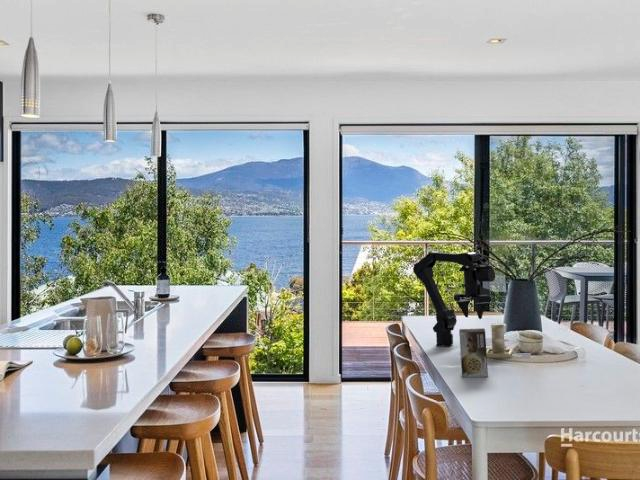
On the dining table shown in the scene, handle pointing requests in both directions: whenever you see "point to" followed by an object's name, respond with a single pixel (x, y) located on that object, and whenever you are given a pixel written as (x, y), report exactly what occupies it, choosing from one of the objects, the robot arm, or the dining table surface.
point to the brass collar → (502, 355)
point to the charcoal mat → (524, 356)
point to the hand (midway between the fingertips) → (473, 318)
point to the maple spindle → (498, 338)
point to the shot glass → (504, 327)
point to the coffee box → (473, 352)
